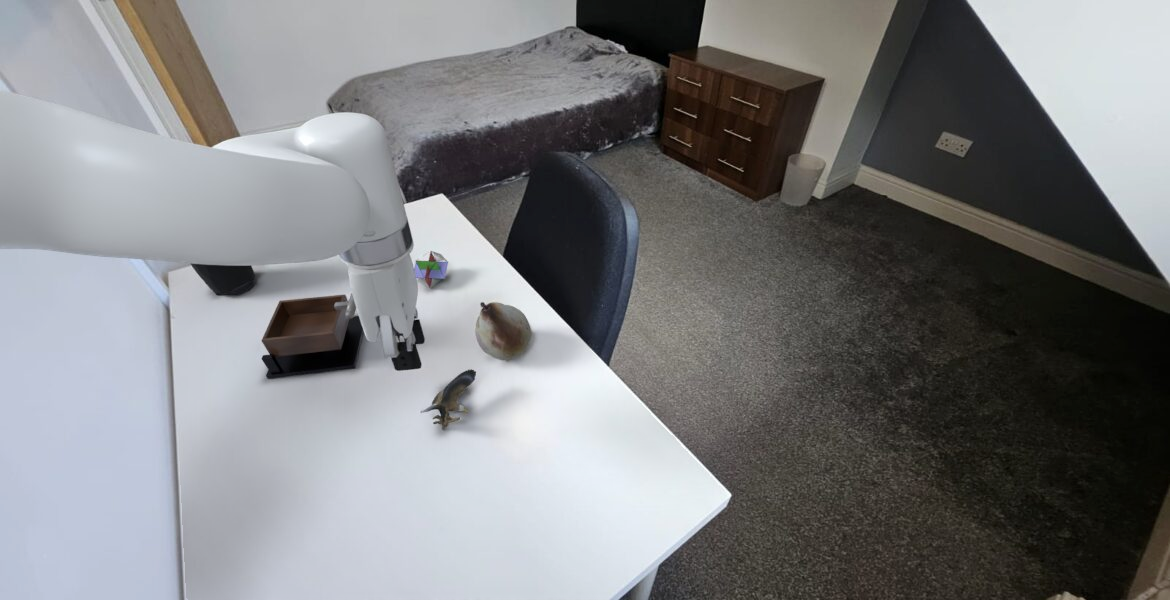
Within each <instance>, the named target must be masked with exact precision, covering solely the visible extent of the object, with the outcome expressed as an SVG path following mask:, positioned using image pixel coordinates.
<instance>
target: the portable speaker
mask: <svg viewBox="0 0 1170 600" xmlns="http://www.w3.org/2000/svg"><path fill="white" fill-rule="evenodd" d="M189 264H190V266H191V267H192V268H193V270H194V271H195V273H196V274H197V275H198V276H199V277H200V278H201V280H202V281H203V282H204V283H205V284H206V286H207V287H208V288H209V289H210V290H211V291H212V292H213V293H214V294H215V295H216V296H218V295H221V294H222V295H223V294H231V295H237V296H241V295H242V294H245V293H246V292H248V291H249V290H251V289H252V288H253V287H254V286H255V277H256V274H255V271H254V269H253V267H252V266H253V265H248V266H233V265H205V264H191V263H189Z"/></svg>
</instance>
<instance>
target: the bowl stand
mask: <svg viewBox="0 0 1170 600" xmlns="http://www.w3.org/2000/svg"><path fill="white" fill-rule="evenodd" d="M364 334H365V333H364V331H363V328H362V324H361V321H360V318H359V315H354V317H353V318H351V319H349V323H348V326H347V330H346V334H345V337H344V341H343V345H342V348H341V349H340V350H331V351H322V352H313V353H305V354H296V355H287V356H278V357H275V356H274V355H273V354H263V355H262V356H261V360H262V362H263V364H264V366H265V367H266V368H267V372H266V375H265V377H266V379H267V380H270V379H271V380H272V379H279V378H287V377H295V376H305V375H313V374H321V373H327V372H328V373H329V372H337V371H345V370H355V369H356V367H357V363H358V358H359V355H360V350H361V345H362V342H363V337H364Z"/></svg>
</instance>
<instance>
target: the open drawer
mask: <svg viewBox="0 0 1170 600" xmlns="http://www.w3.org/2000/svg"><path fill="white" fill-rule="evenodd" d="M356 311H357V309H356V305H355V302H354V298H353V294H352V292H351V293H350V295H349V299H348V297H347V295H346V294H336V295H335V294H334V295H325V296H316V297H315V296H314V297H304V298H303V297H302V298H295V299H294V298H293V299H284V300H279V301H278V303H277V306H276V307H275V309H274V312H273V314H272V316H271V318H270V321H269V323H268V325H267V328H266V329H265V332H264V334H263V335H262V338H261V343H262V344H263V346H264V347H265V349H266V351H267V353H268V355H270V354H273V355H274V356H275V357H278V356H287V355H296V354H305V353H313V352H322V351H331V350H340V349H341V348H342V345H343V341H344V337H345V334H346V330H347V326H348V323H349V319H351V318H353V317H354V316H356Z"/></svg>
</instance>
